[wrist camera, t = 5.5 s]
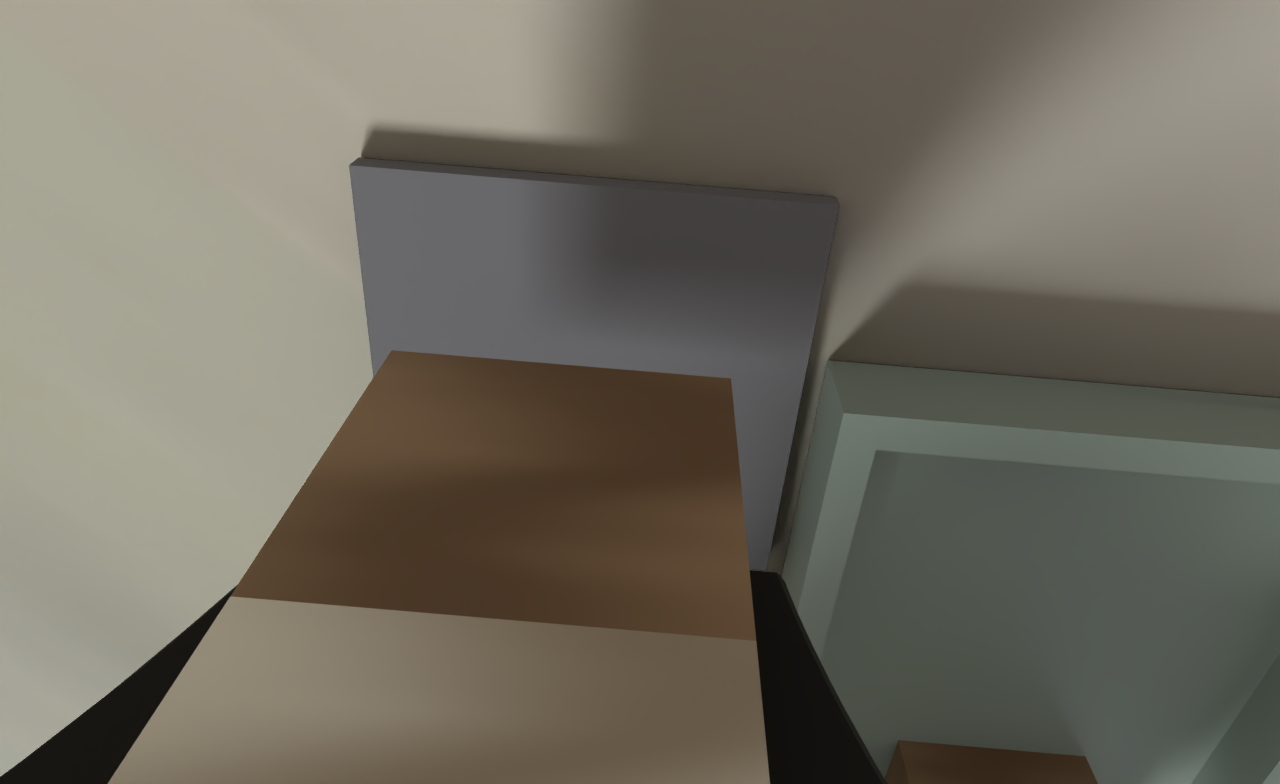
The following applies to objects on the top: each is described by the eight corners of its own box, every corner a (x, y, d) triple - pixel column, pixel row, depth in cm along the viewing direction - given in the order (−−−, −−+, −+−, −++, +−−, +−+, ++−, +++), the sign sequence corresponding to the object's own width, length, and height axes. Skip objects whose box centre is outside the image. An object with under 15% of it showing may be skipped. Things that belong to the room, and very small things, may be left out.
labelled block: (731, 378, 10) (784, 922, 5) (695, 621, 12) (704, 1187, 7) (391, 350, 10) (56, 859, 5) (415, 597, 12) (204, 1142, 7)
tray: (1455, 412, 13) (1542, 471, 12) (1127, 886, 21) (1158, 956, 19) (828, 360, 13) (843, 413, 12) (722, 851, 21) (725, 918, 19)
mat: (834, 197, 12) (839, 206, 12) (764, 556, 16) (766, 570, 15) (358, 157, 12) (348, 165, 12) (398, 524, 16) (391, 538, 15)
